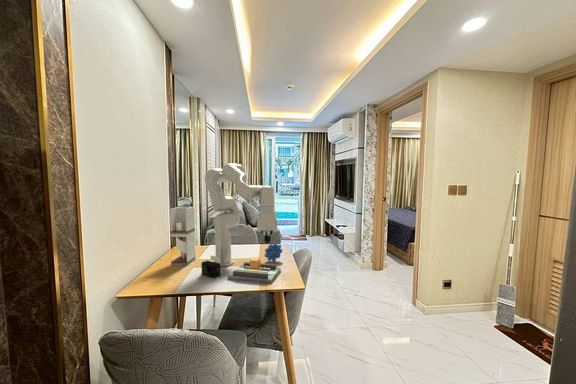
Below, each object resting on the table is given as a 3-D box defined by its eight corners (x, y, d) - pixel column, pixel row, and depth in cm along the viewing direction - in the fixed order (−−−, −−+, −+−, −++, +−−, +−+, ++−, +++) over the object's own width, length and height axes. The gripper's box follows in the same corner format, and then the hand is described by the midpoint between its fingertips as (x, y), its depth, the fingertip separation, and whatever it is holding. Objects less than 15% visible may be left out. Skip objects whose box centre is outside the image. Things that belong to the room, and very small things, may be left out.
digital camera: (199, 275, 141) (199, 262, 141) (207, 272, 146) (207, 260, 146) (212, 279, 136) (212, 266, 135) (220, 275, 140) (220, 263, 140)
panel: (227, 279, 135) (227, 273, 135) (242, 267, 153) (242, 262, 153) (270, 283, 130) (270, 277, 129) (280, 271, 147) (280, 266, 147)
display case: (179, 259, 170) (178, 206, 168) (195, 259, 169) (194, 206, 168) (171, 265, 158) (169, 208, 157) (188, 265, 158) (187, 208, 157)
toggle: (248, 272, 139) (248, 260, 139) (251, 269, 144) (251, 257, 144) (258, 273, 138) (258, 260, 138) (262, 269, 143) (261, 258, 142)
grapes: (282, 258, 171) (282, 241, 170) (282, 262, 164) (282, 243, 163) (264, 259, 170) (264, 241, 169) (264, 262, 163) (264, 243, 163)
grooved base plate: (232, 275, 136) (232, 269, 136) (245, 265, 151) (245, 259, 151) (266, 278, 131) (266, 272, 131) (276, 268, 146) (276, 262, 146)
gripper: (251, 209, 136) (251, 243, 137) (278, 210, 132) (278, 245, 133) (256, 208, 143) (257, 240, 144) (282, 208, 140) (282, 241, 140)
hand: (267, 242), depth 139 cm, fingers closed
